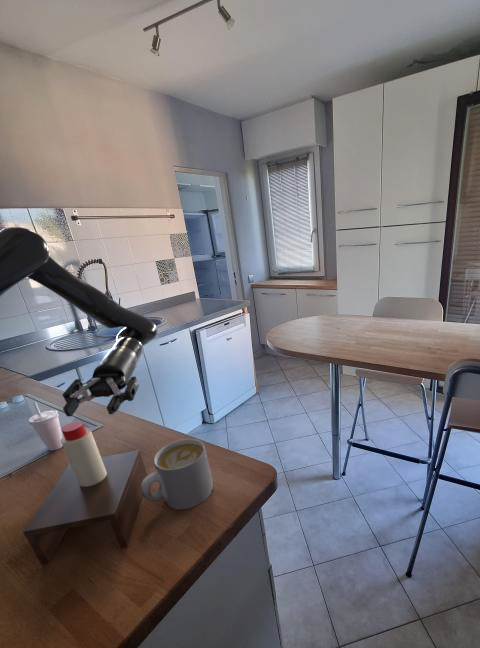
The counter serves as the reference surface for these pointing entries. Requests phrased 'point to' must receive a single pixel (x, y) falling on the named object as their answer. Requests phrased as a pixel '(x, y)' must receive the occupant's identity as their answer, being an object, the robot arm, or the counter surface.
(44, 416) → the smoothie
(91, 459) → the spice bottle
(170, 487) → the coffee mug
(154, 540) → the counter surface
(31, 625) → the counter surface
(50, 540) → the shelf
